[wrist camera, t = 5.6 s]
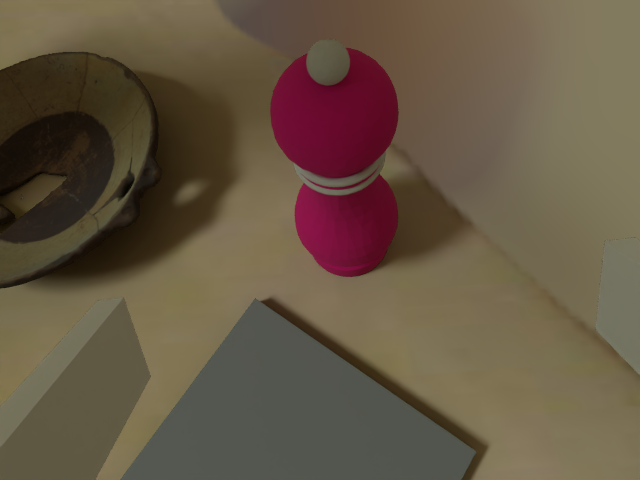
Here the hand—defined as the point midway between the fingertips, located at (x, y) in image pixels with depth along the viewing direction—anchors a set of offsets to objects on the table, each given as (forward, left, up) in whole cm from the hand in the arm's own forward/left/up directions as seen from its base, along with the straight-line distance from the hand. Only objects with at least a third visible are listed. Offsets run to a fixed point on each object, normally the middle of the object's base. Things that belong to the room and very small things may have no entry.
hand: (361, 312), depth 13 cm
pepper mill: (+8, +7, -21) cm, 24 cm away
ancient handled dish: (-1, +35, -21) cm, 41 cm away
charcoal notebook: (-9, +1, -21) cm, 23 cm away
